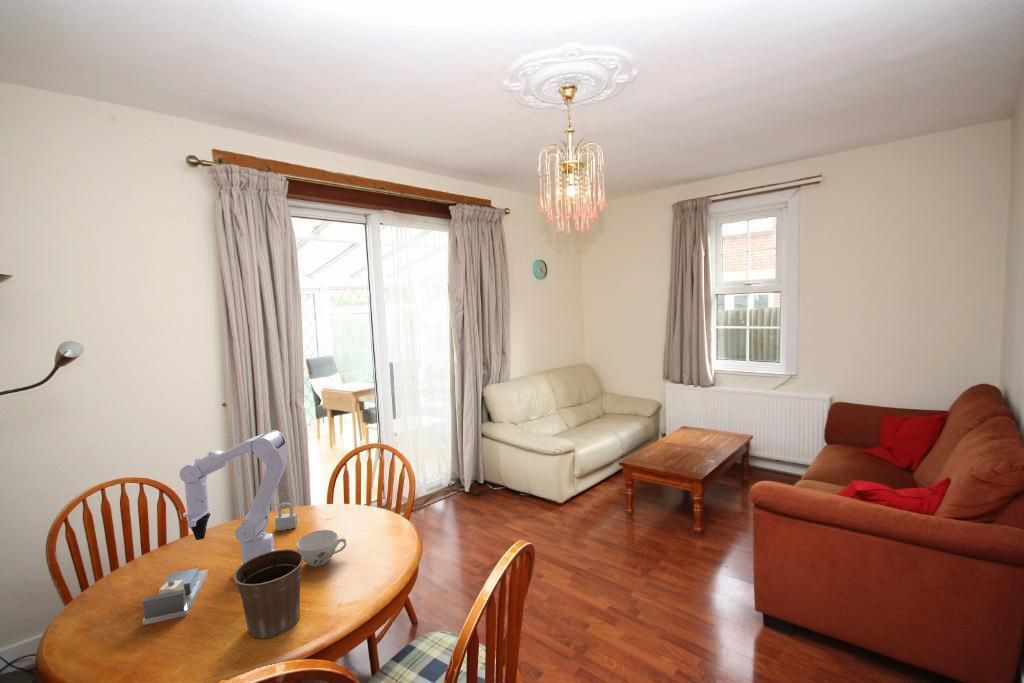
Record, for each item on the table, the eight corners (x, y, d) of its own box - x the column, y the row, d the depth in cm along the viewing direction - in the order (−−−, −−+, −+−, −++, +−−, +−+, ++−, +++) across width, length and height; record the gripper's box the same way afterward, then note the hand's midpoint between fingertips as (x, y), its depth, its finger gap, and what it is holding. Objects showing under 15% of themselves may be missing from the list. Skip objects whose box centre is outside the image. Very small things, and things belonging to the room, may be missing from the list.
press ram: (199, 576, 140) (198, 568, 140) (190, 592, 132) (189, 583, 132) (171, 582, 137) (170, 573, 137) (160, 598, 130) (159, 589, 129)
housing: (184, 596, 131) (182, 576, 130) (175, 605, 127) (173, 585, 126) (170, 597, 130) (168, 577, 130) (160, 606, 126) (158, 586, 126)
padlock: (298, 524, 176) (296, 499, 175) (294, 529, 172) (293, 504, 171) (278, 526, 175) (277, 501, 174) (275, 531, 171) (273, 505, 170)
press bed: (208, 573, 144) (206, 554, 144) (187, 615, 125) (185, 592, 124) (170, 581, 141) (169, 561, 140) (142, 625, 121) (140, 602, 121)
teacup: (294, 576, 141) (293, 552, 141) (300, 556, 153) (299, 533, 153) (345, 567, 146) (344, 543, 145) (348, 548, 158) (346, 525, 157)
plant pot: (229, 652, 110) (224, 590, 109) (247, 610, 126) (243, 555, 125) (302, 637, 115) (297, 576, 114) (311, 598, 130) (307, 544, 129)
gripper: (189, 492, 152) (192, 530, 153) (174, 509, 139) (178, 552, 140) (213, 488, 155) (217, 526, 156) (201, 505, 141) (205, 547, 142)
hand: (200, 538), depth 148 cm, fingers closed
